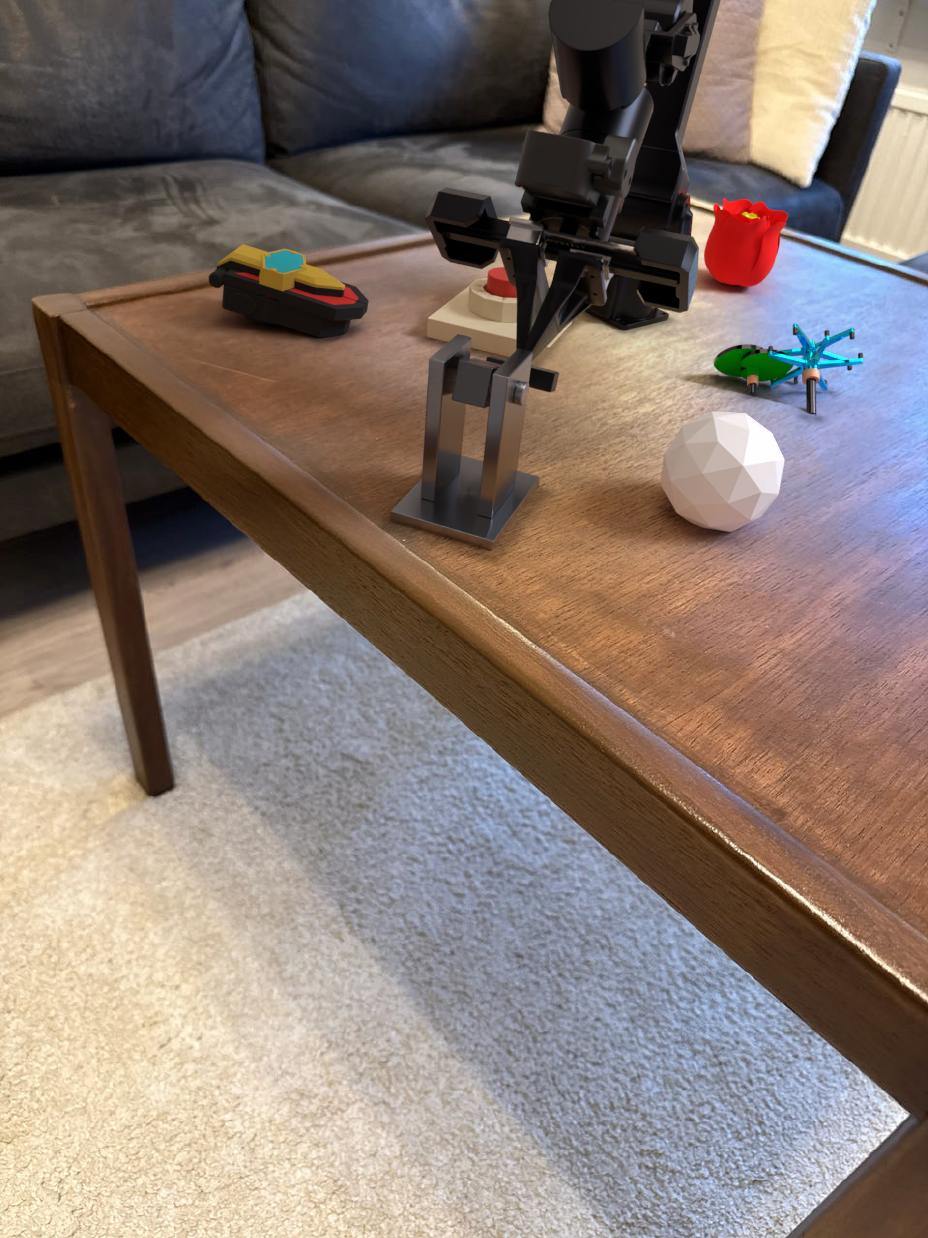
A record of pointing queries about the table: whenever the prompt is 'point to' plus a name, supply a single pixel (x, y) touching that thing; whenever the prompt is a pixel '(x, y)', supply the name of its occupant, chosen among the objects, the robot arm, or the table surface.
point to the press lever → (478, 379)
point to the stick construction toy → (786, 363)
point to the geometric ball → (722, 470)
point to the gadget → (286, 292)
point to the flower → (743, 242)
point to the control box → (479, 320)
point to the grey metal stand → (465, 487)
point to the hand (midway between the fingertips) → (522, 361)
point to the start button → (500, 284)
